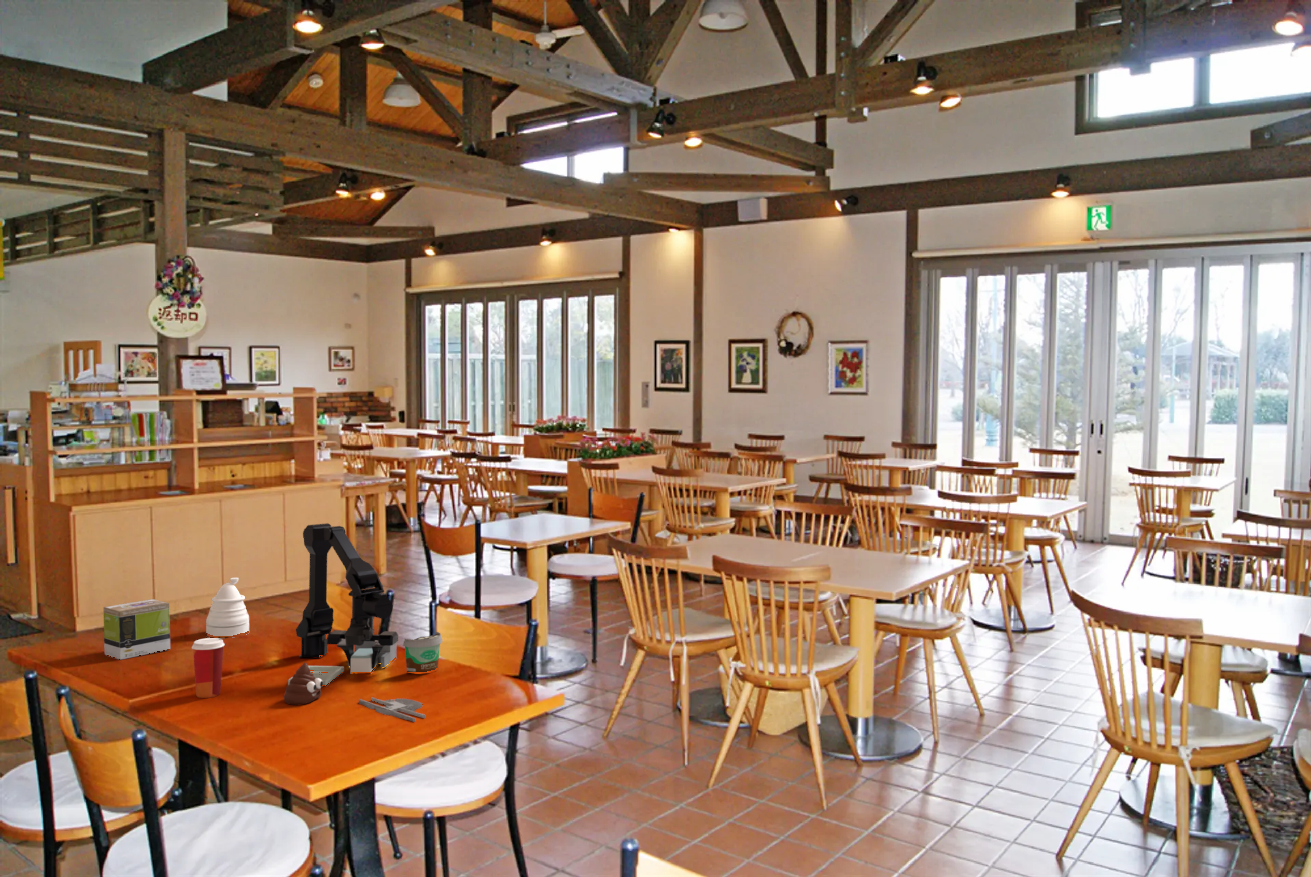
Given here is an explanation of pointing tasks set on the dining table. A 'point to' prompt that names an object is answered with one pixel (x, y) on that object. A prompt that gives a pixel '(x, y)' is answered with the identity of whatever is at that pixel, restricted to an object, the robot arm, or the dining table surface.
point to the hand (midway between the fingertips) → (362, 668)
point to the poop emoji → (303, 687)
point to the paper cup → (208, 666)
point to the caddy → (362, 660)
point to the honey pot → (227, 612)
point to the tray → (325, 677)
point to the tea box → (136, 628)
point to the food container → (422, 653)
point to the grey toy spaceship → (395, 707)
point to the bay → (385, 655)
